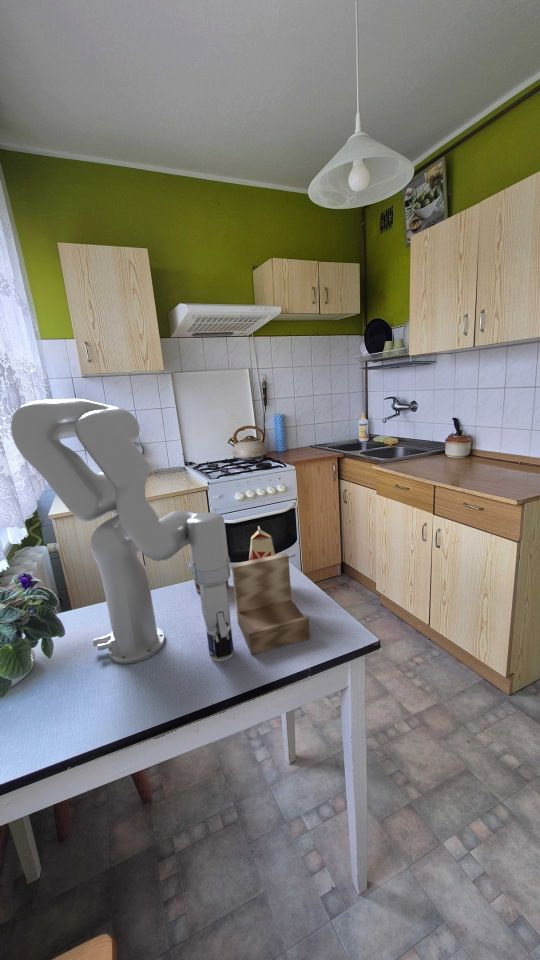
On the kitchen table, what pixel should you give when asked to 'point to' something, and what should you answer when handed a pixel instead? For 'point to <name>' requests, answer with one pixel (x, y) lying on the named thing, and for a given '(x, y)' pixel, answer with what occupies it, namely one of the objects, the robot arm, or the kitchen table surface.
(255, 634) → the cardboard holder
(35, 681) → the kitchen table surface
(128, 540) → the robot arm
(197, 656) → the kitchen table surface
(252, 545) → the milk carton
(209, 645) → the pill bottle
